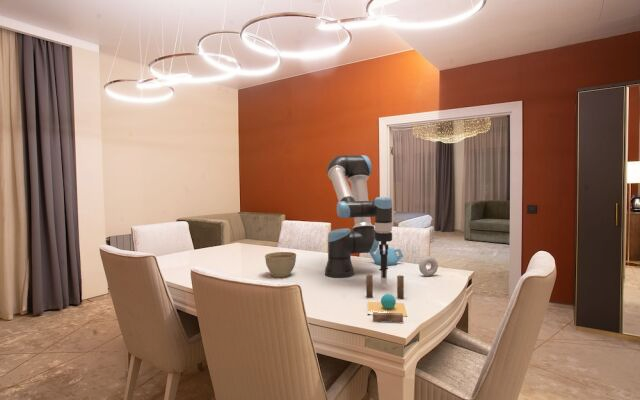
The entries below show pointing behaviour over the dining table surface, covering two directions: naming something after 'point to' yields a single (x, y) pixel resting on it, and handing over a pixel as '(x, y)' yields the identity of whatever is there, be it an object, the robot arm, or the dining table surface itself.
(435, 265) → the donut
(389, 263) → the teapot
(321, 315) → the dining table surface
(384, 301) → the ball
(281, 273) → the planter bowl
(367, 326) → the dining table surface
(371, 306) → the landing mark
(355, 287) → the dining table surface
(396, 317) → the brown rectangular bar
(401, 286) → the right post
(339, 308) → the dining table surface
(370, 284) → the left post
